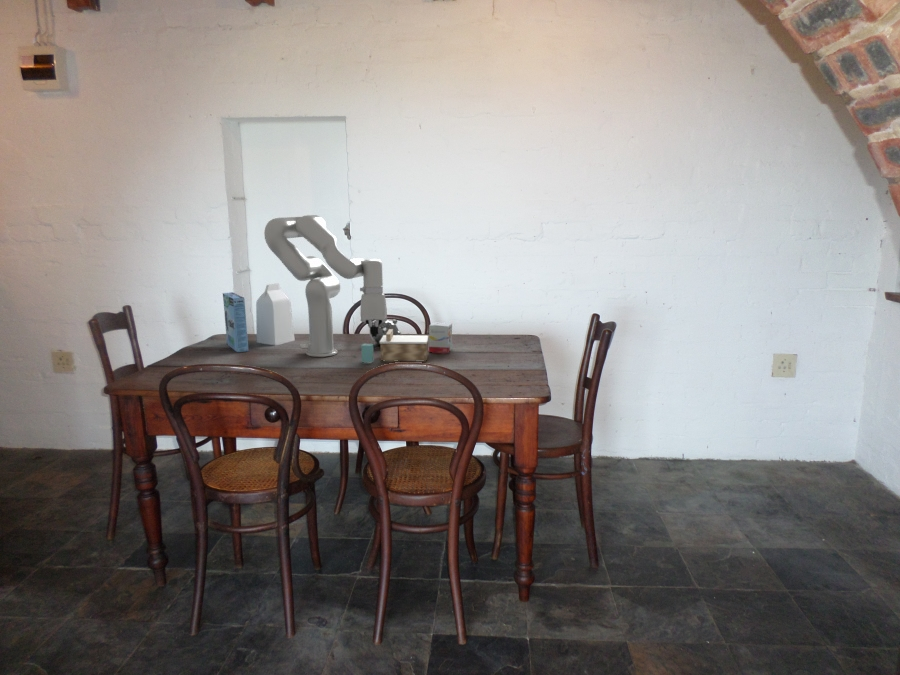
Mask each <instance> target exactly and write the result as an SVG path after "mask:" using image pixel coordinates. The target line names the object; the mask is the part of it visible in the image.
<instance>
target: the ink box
mask: <svg viewBox="0 0 900 675" xmlns="http://www.w3.org/2000/svg"><path fill="white" fill-rule="evenodd" d="M428 336H429V338H428V353H429V352H432V353H431V354H434V353H435V354H449V353H450V352H451V351H452V349H453V347H452V346H453V342H452V341H453V323H452V322H439V321H437V322H436V321H434V322H432V323H430V324H429V325H428ZM450 350H451V351H450ZM449 351H450V352H449Z"/></svg>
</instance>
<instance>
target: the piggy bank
mask: <svg viewBox="0 0 900 675" xmlns="http://www.w3.org/2000/svg"><path fill="white" fill-rule="evenodd" d="M375 323H376V320H375V321H374V320H373V324H374V326H375ZM397 324H398V320H397V319H391V320H389V319H388V320H387V321H386V322H382V323H381V324H380V325H379V326H378V334H377V336H376V337H375V336H374V337H372V334H370V326H369V325H368V324H367V326H368V328H369V336H370V338H371V340H372V341H373V342H374V347H379V346H380V340H381V339H382V337H383V335H386V334H387V332H388V330H389V329H393V335H402V333H401V331H400V330H399V327H398V326H397Z"/></svg>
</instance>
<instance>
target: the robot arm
mask: <svg viewBox="0 0 900 675" xmlns="http://www.w3.org/2000/svg"><path fill="white" fill-rule="evenodd" d="M326 223H327V222H326V221H325V219H324V218H323V217H321V216H320V215H316V214H307V215H302V216H293V217H292V216H291V217H290V216H289V217H276V218H272V219H271V220H269V221H267V223H266V224H265V227H264V233H263V234H264V240H265V243H266V246H268V248H269V249H270V251H271V252H272V253H273V254H274V255H275V256H276V258H278V260H279V261H280V262H281V263H282V265H284V267H285V268H286V269H287V271H289V273H290V274H291V275H292V277H294V278H295V279H296V280H297V281H300V282H305V281H306V282H307V281H308V282H307V284H306V285H305V292H304V293H305V298H306V299H305V300H306V302H307V310H308V312H307V313H308V329H309V330H308V332H309V334H308V335H309V342H307V343H300V344H299V348H300V349H301V350H306V351H305V353H306V356H308V357H312V358H313V357H314V358H317V357H318V358H324V357H332V356H336V354H338V350H337V349H336V348H334V331H333V330H334V328H333V327H334V325H333V310H332V305H331V301H330V299H332V298H335V297H336V296H338V295H339V294H340V292H341V283H340V281H339V279H338V278H337V277H336V276H335V274H334V273H333V272H332V271H331V270H330V269H332V270H333V271H334V272H335V273H337V274H338V275H339V276H340V277H341V278H344V279H347V280H351V279H355V278H359V277H363V286H362V287H360V288H359V291H360V292H362V294H361V298H360V322H362V323H366V324H367V326H368V325H369V326H370V328H369V329H370V332H369V335H370V334H372V337H374V336H375V337H376V336H377V334H378V326H379V325H380V324H381V323H382V322H386V321H387V320H389V319H388V312H387V311H388V310H387V299H386V295H385V293H384V289H383V288H384V287H383V286H384V285H383V284H384V282H383V280H384V279H383V261H381V259H379V258H378V259H377V258H370V259H366V258H361V257H360V258H359V257H355V258H350V259H349V258H348V257H347V256H345V255H344V253H343V252H341V251H340V250H339V249H338V246H337V237H336V236H335V235H334V234H333V233H331V232H330V231H329V230H328V229H327V224H326ZM294 238H295V239H296V238H304V240H306V241H307V242H309V244H310V245H312V246H313V247H314V248H315V249H316V250H317V251H319V253H320V254H321V255H322V258H323V259H324V261H325V263H326V264H327V265H328V266H327V265H326V264H325V263H324V261H322V260H321V259H320V258H318V257H317V256H313V255H312V256H311V255H310V256H309V255H308V256H306V255H304V254H303V253H302V252H301V251H300V249H299V248H298V247H297V246H296V245H295V244H294V243H293V242H291V241H289V240H288V239H294ZM328 267H330V269H329V268H328ZM374 320H375V321H376V323H375V326H374V324H373V322H374ZM369 326H368V327H369Z"/></svg>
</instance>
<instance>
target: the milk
mask: <svg viewBox="0 0 900 675" xmlns="http://www.w3.org/2000/svg"><path fill="white" fill-rule="evenodd" d="M255 310H256V311H255V317H256V321H255V322H256V326H255V327H256V343H257V344H263V345H270V346H279V345H282V344H285V343H290V342H295V341H296V339H295V331H294V329H295V328H294V322H293V313H292V312H293V311H292V304H291V299H290V298H289V297H288V296H287V295H286V293H285V292H284V291H283V290H282V289H281V287H280V284H279V283H271V284H270V283H269V284H266V286H265V289H264V292H263V293H262V294H261V295H260V296H259V297H258V298H257V300H256V304H255Z"/></svg>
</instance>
